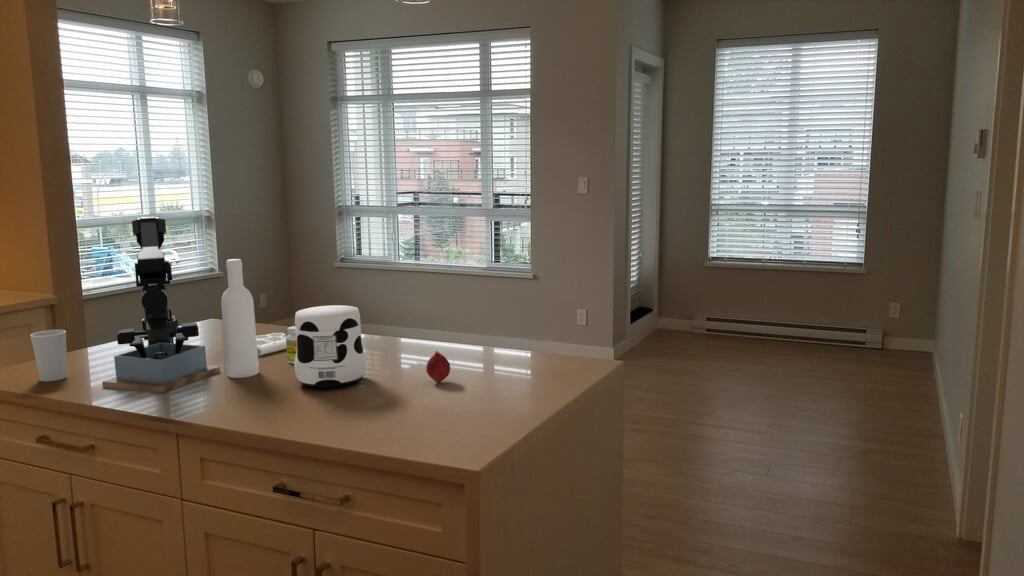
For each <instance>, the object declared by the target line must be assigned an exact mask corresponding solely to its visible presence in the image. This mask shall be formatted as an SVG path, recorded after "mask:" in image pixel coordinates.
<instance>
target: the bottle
mask: <svg viewBox="0 0 1024 576" xmlns="http://www.w3.org/2000/svg"><path fill="white" fill-rule="evenodd" d="M225 267H226V272H227V284H228V286H227V287H228V288H227V289H225V290H224V292H223V293H222V296H221V302H220V304H221V315H222V328H223V329H222V330H223V337H224V338H223V340H224V349H225V360H226V361H225V362H226V365H225V366H226V373H227V376H228V378H232V379H244V378H250V377H255V376H256V375H258V374H259V372H260V361H259V356H258V352H257V340H256V336H257V332H256V331H257V330H256V316H255V304H254V298H253V296H252V293H251V291H250V290H249V289H247V287H245V286H244V275H243V263H242V259H240V258H231V259H230V258H229V259H227V260H226V265H225Z"/></svg>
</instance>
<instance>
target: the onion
mask: <svg viewBox="0 0 1024 576" xmlns="http://www.w3.org/2000/svg"><path fill="white" fill-rule="evenodd" d="M425 368H426V369H425V371H426V374H427V375H428V376H429V378H431V380H433V381H434V382H435V383H437V384H438V383H439V384H440V383H441V382H442V381H444V380H445V379H446V378H447V377H448V376H449V375H450V373H451V363H450V361H449V360H448V359H447V357H445V356H444V355H443V354H442V353H440V352H439V350H435V352H434V355H432V356H431V357H430V358H429V359H428V361H427V362H426V366H425Z"/></svg>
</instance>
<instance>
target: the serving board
mask: <svg viewBox="0 0 1024 576" xmlns="http://www.w3.org/2000/svg"><path fill="white" fill-rule="evenodd" d="M219 373H221V366H219V365H208V364H207V369H204V370H201V371H198V372H195V373H193V374H190V375H187V376H184V377H181V378H179V379H176V380H173V381H170V382H167V383H165V384H157V383H147V382H137V381H127V380H118V379H117V378H116V376H115V377H112V378H108V379H106V380H103V381H102V382H101V383H102V388H104V389H106V388H107V389H114V390H115V389H117V390H126V391H134V392H144V393H151V394H152V393H154V394H164V393H167V392H170V391H174V390H175V389H178V388H181V387H184V386H186V385H189V384H192V383H195V382H197V381H200V380H202V379H205V378H207V377H210V376H213V375H216V374H219Z"/></svg>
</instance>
